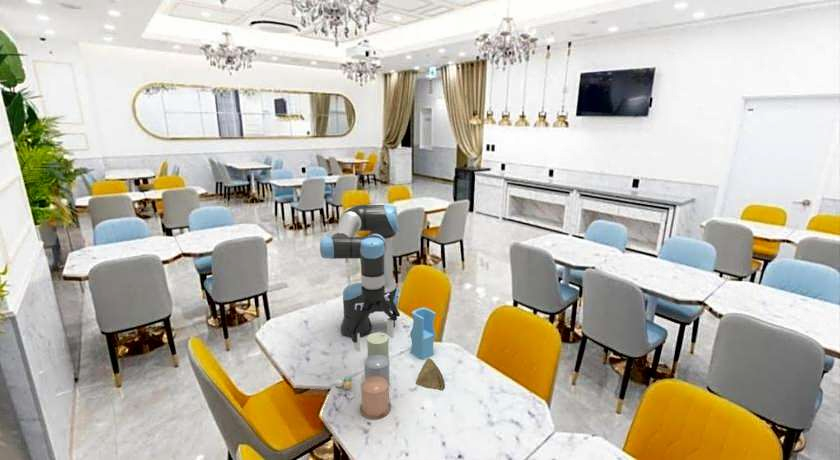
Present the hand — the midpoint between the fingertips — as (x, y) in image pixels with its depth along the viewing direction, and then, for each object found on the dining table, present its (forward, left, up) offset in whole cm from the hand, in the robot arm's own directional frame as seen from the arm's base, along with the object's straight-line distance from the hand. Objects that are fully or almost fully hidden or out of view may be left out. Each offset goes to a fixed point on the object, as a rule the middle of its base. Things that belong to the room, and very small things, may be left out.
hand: (374, 343), depth 135 cm
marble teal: (0, -19, -26) cm, 32 cm away
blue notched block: (-36, -16, -27) cm, 47 cm away
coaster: (0, 0, -26) cm, 26 cm away
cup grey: (-9, -12, -26) cm, 30 cm away
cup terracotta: (0, 0, -26) cm, 26 cm away
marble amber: (+2, -16, -26) cm, 31 cm away
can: (-17, -23, -27) cm, 39 cm away
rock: (-24, +3, -27) cm, 36 cm away
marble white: (+4, -19, -26) cm, 33 cm away
